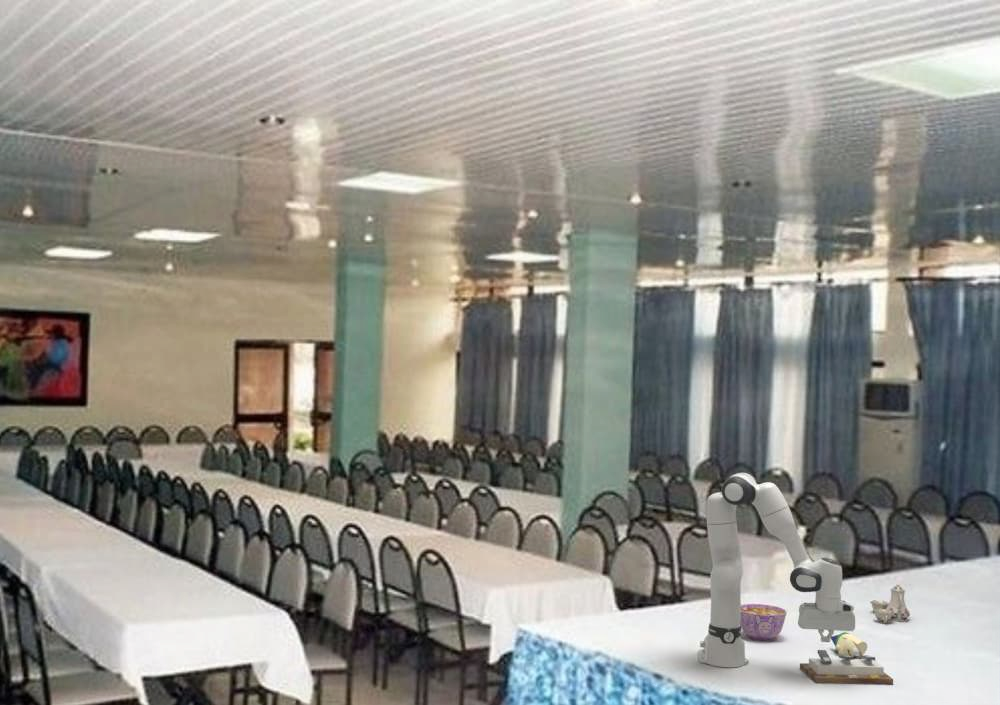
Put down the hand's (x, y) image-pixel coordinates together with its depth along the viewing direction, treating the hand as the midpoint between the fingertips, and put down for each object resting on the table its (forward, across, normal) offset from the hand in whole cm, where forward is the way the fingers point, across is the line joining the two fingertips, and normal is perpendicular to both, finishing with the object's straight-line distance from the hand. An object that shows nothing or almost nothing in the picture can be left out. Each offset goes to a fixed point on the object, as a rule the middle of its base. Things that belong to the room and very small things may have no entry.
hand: (825, 641), depth 404 cm
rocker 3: (+6, +17, +2) cm, 18 cm away
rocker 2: (+6, +9, +2) cm, 11 cm away
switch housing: (+11, +9, +2) cm, 14 cm away
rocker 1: (+6, +1, +2) cm, 6 cm away
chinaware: (+13, +62, +92) cm, 112 cm away
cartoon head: (+13, +20, +31) cm, 39 cm away
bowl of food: (+14, -7, +55) cm, 57 cm away
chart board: (+13, +9, +2) cm, 16 cm away
